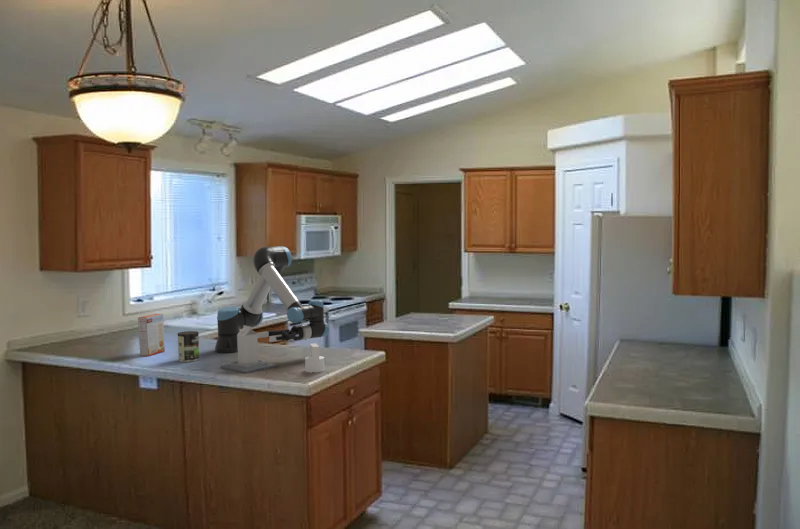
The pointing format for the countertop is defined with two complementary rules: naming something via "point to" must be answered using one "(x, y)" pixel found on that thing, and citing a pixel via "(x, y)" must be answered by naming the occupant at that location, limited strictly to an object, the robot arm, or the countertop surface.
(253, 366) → the dock collar
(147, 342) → the cracker box
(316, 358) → the base with upright slab
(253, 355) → the milk carton
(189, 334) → the coffee can
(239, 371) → the board
